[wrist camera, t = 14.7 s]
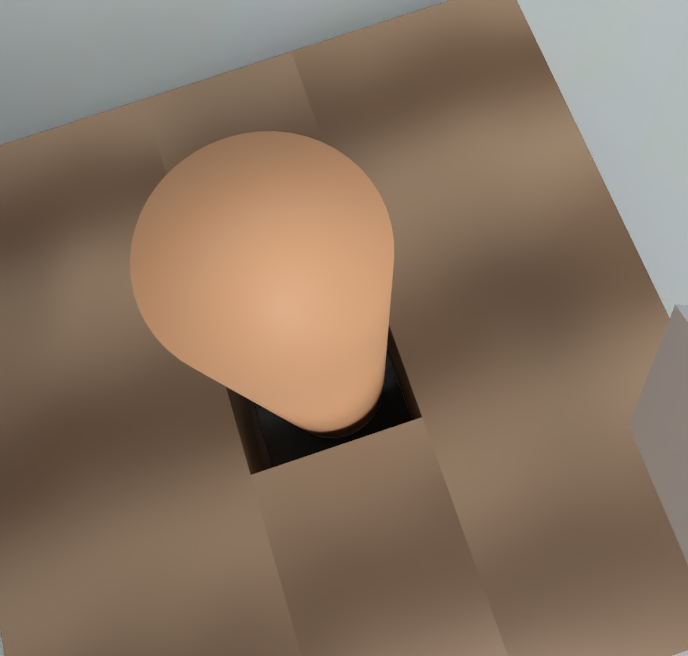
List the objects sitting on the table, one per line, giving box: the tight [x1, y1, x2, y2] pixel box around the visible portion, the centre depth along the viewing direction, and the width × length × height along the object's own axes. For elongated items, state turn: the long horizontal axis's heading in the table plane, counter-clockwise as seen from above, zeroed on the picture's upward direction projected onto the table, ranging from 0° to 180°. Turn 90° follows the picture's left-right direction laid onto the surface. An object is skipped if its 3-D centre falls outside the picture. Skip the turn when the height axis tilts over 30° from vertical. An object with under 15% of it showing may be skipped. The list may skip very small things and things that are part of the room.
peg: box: [130, 131, 394, 438], centre depth 13 cm, size 3×3×12 cm
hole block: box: [0, 0, 688, 656], centre depth 17 cm, size 18×18×4 cm
